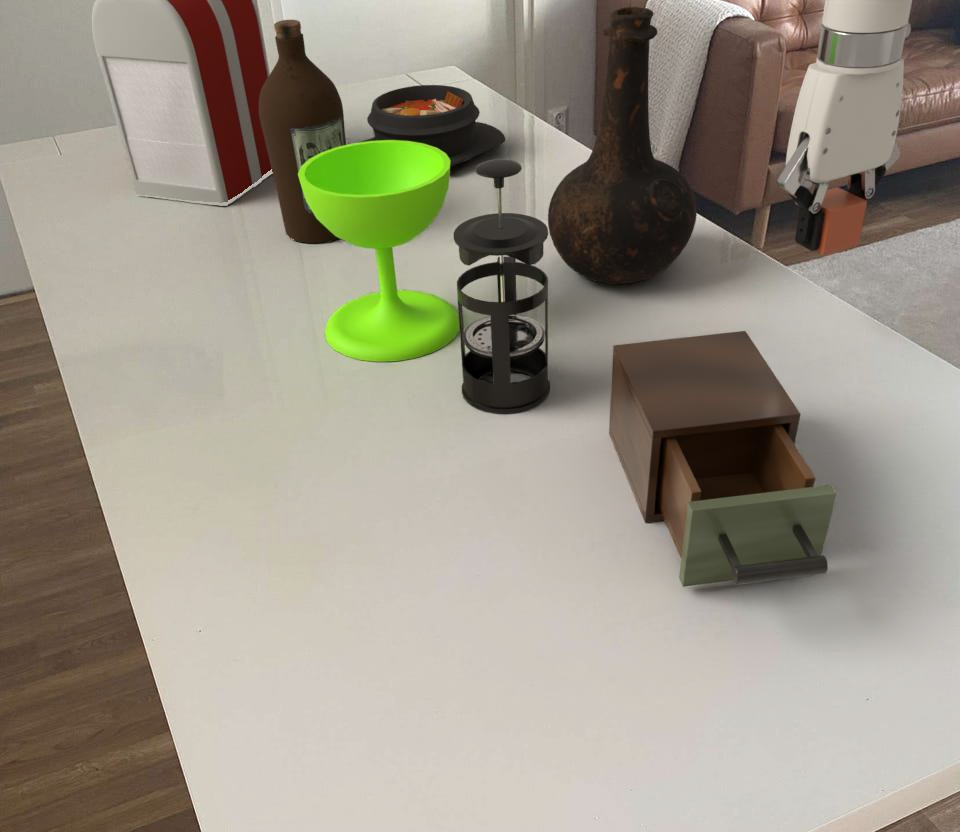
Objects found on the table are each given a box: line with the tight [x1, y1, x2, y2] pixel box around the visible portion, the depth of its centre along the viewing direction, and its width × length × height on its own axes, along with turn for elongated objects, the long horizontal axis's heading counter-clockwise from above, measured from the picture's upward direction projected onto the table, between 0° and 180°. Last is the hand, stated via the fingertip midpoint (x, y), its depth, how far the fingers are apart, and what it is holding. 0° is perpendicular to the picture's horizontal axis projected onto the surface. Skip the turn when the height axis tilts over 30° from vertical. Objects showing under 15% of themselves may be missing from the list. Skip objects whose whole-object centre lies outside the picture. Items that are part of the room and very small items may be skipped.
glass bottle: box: [547, 6, 698, 285], centre depth 116 cm, size 18×18×28 cm
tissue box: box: [91, 0, 272, 203], centre depth 144 cm, size 16×18×27 cm
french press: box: [453, 158, 551, 414], centre depth 99 cm, size 12×9×23 cm
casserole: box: [357, 84, 506, 167], centre depth 153 cm, size 25×19×8 cm
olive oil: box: [259, 19, 347, 244], centre depth 130 cm, size 11×11×25 cm
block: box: [811, 186, 868, 256], centre depth 105 cm, size 5×5×5 cm
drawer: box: [656, 424, 838, 588], centre depth 83 cm, size 19×11×8 cm, turn 8°
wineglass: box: [298, 140, 460, 363], centre depth 111 cm, size 16×16×18 cm
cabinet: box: [608, 330, 802, 524], centre depth 92 cm, size 15×13×10 cm
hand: (827, 238), depth 106 cm, fingers closed on block, 4 cm apart
